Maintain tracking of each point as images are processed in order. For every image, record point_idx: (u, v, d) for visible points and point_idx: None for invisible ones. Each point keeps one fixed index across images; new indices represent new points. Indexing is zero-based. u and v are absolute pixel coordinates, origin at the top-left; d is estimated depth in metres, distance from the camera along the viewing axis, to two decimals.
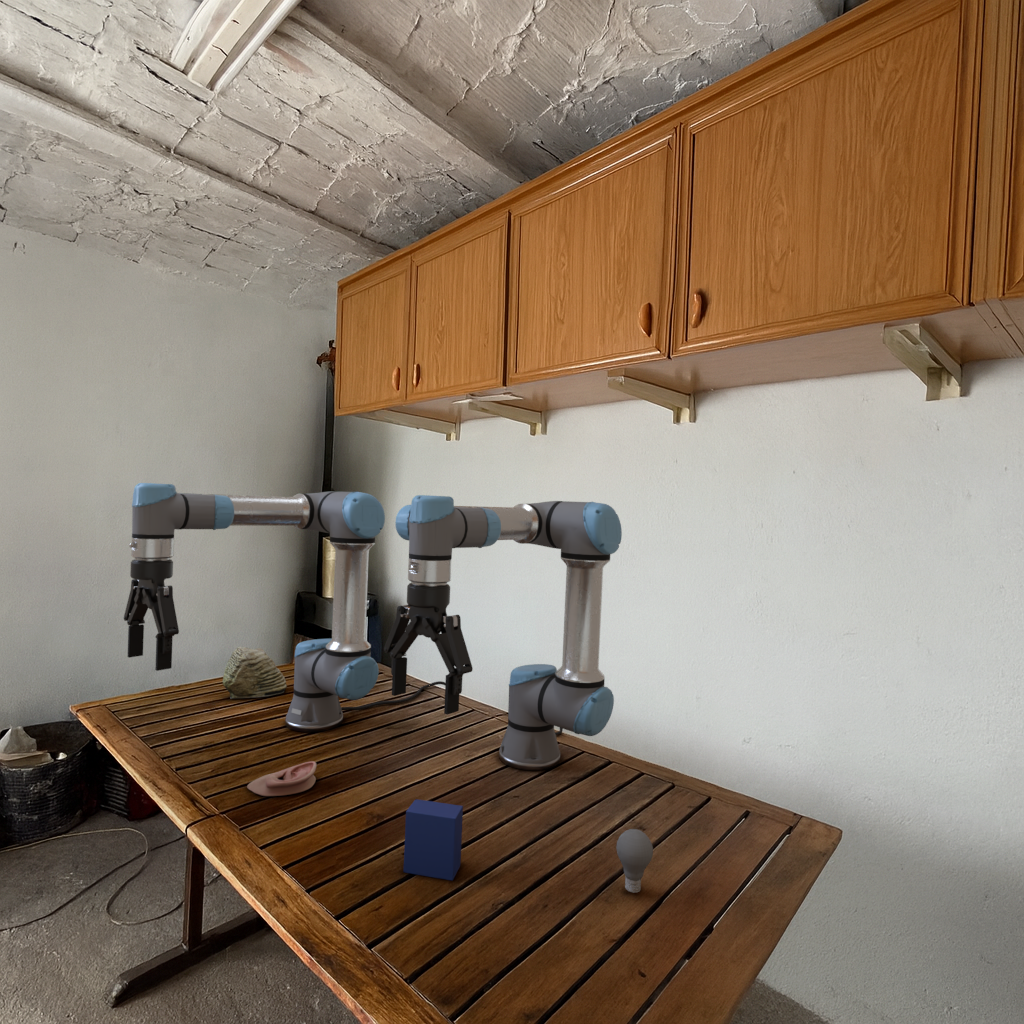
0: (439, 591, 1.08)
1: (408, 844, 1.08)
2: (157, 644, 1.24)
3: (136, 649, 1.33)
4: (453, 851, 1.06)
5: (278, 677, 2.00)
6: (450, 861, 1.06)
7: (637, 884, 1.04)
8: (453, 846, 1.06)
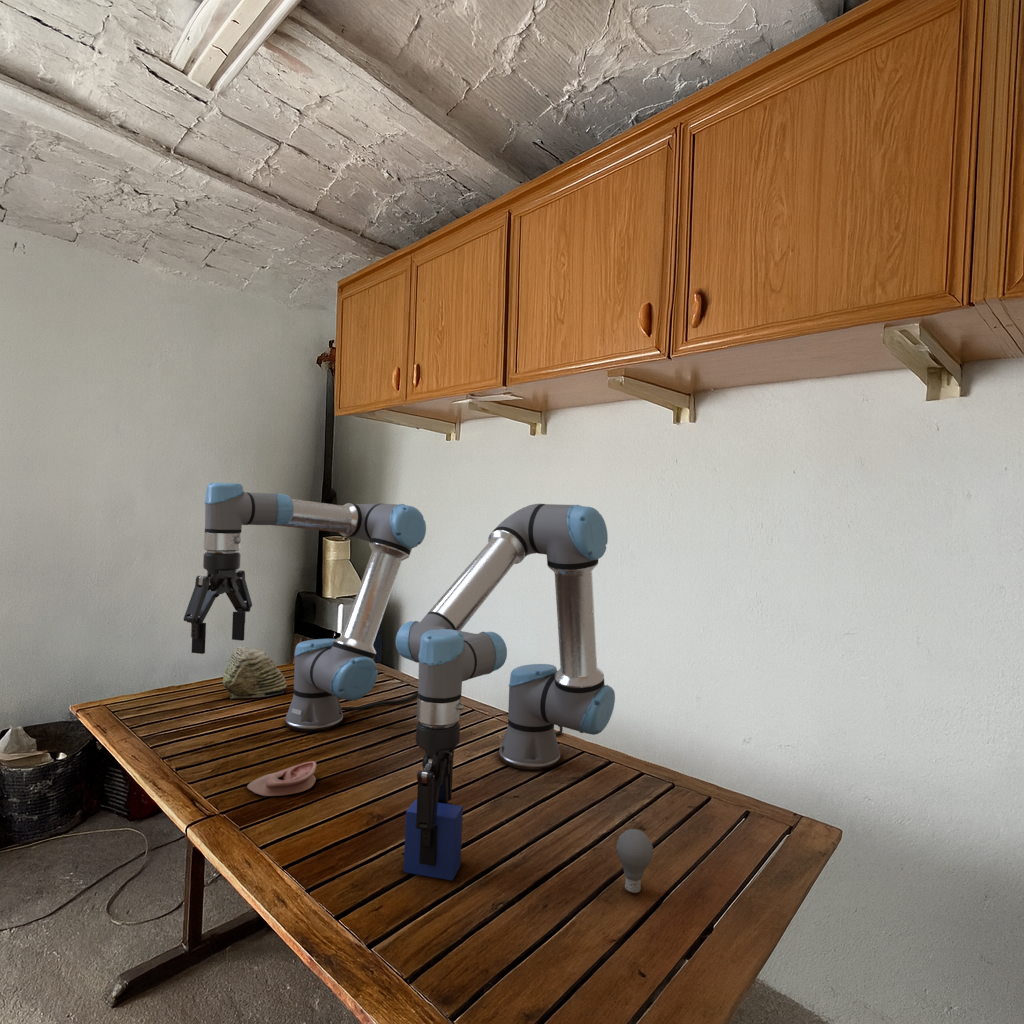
0: None
1: (408, 844, 1.08)
2: (244, 618, 1.49)
3: None
4: (453, 851, 1.06)
5: (278, 677, 2.00)
6: (450, 861, 1.06)
7: (637, 884, 1.04)
8: (453, 846, 1.06)
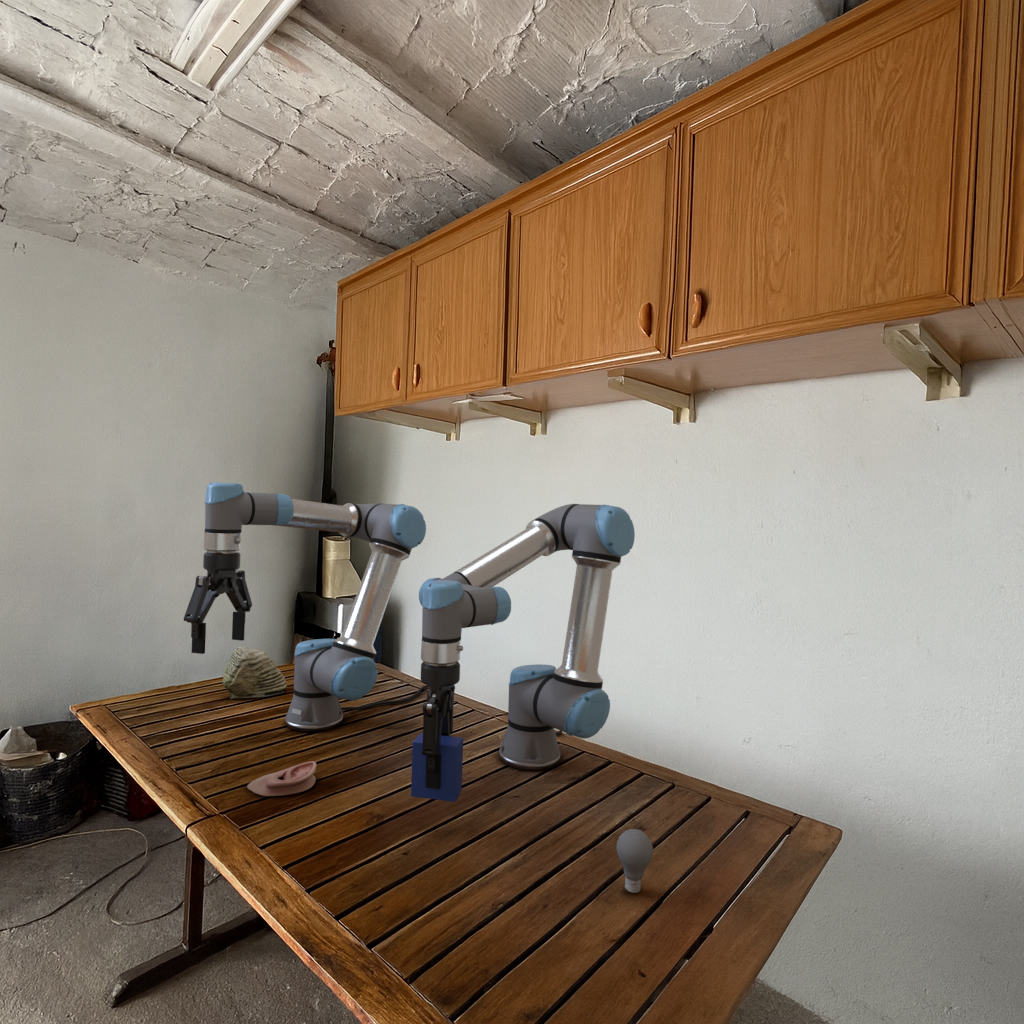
0: None
1: (415, 771, 1.21)
2: (244, 618, 1.49)
3: None
4: (455, 776, 1.19)
5: (278, 677, 2.00)
6: (452, 784, 1.19)
7: (637, 884, 1.04)
8: (455, 771, 1.19)
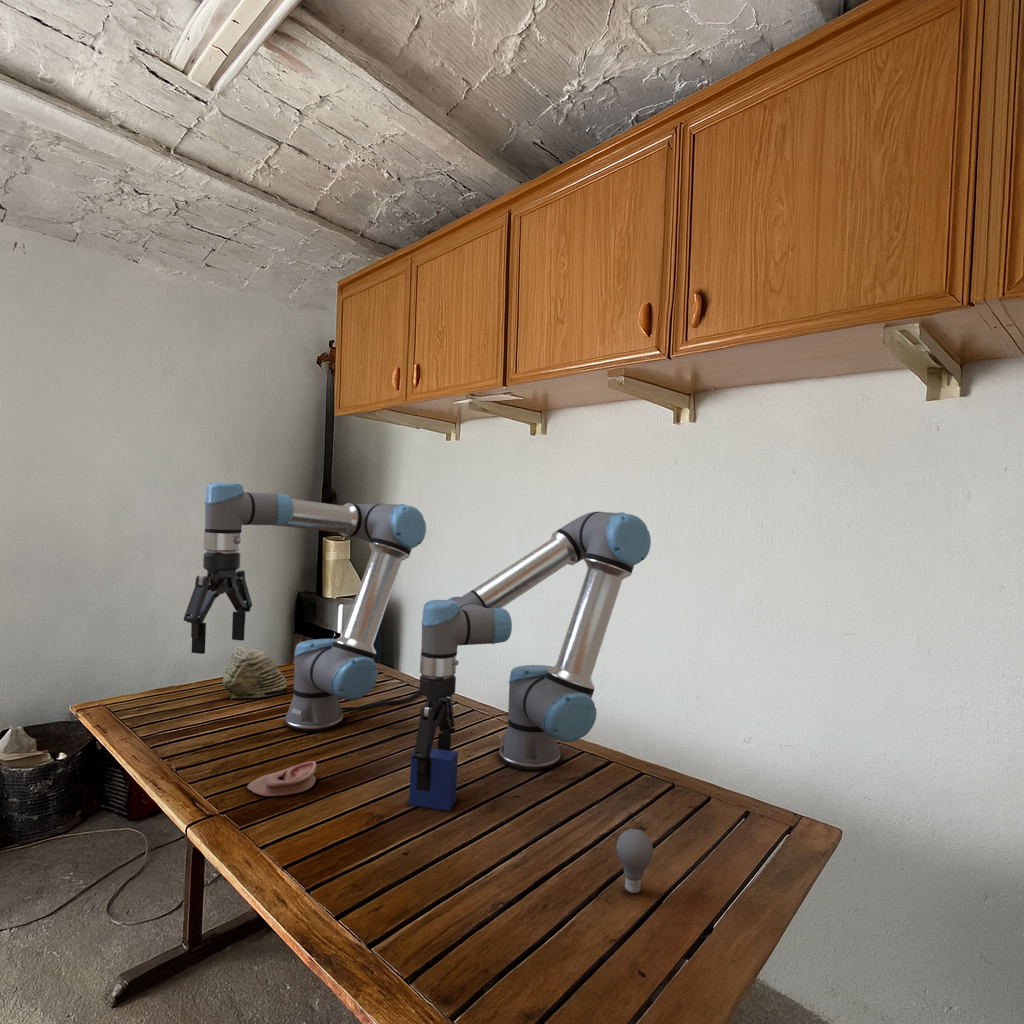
0: None
1: (413, 782, 1.32)
2: (244, 618, 1.49)
3: None
4: (450, 787, 1.30)
5: (278, 677, 2.00)
6: (447, 794, 1.30)
7: (637, 884, 1.04)
8: (450, 782, 1.30)
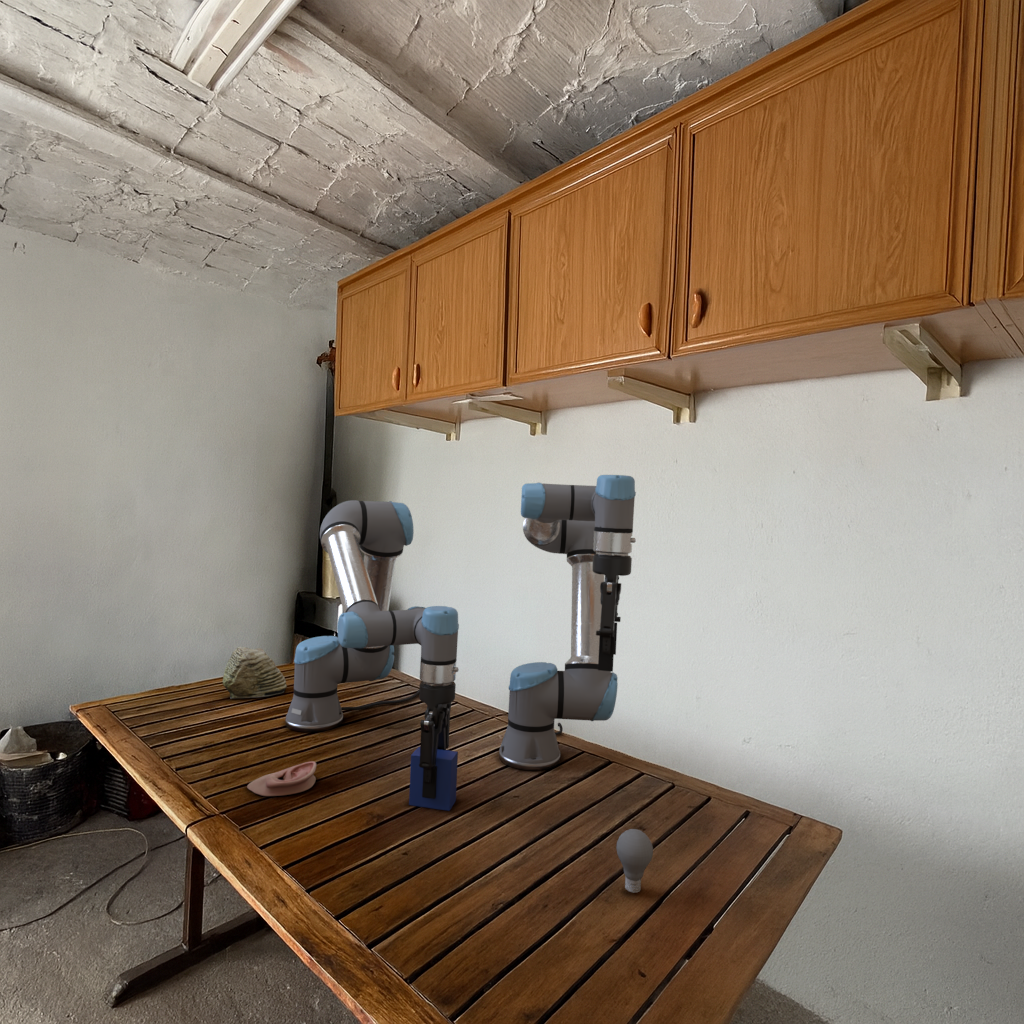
0: None
1: (413, 782, 1.32)
2: None
3: None
4: (450, 787, 1.30)
5: (278, 677, 2.00)
6: (447, 794, 1.30)
7: (637, 884, 1.04)
8: (449, 782, 1.30)
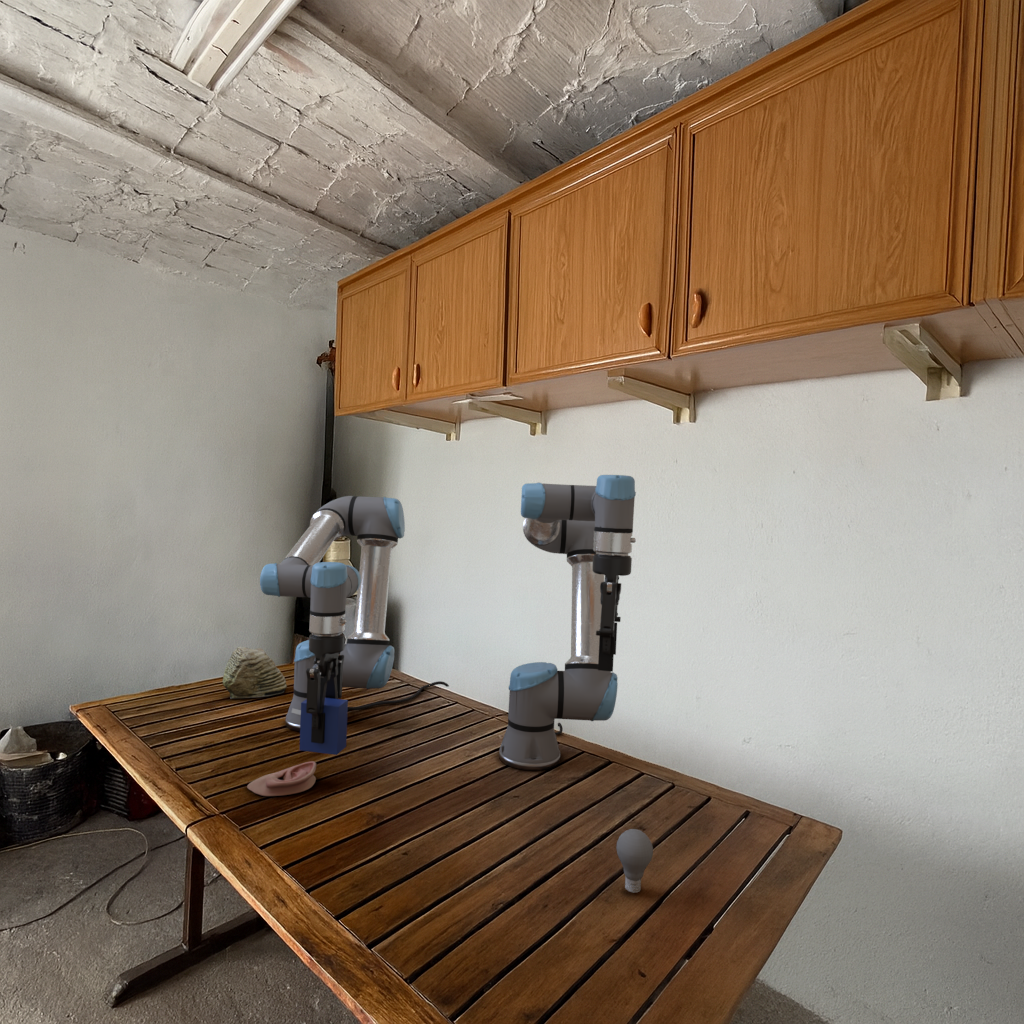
0: None
1: (303, 728, 1.38)
2: None
3: None
4: (337, 732, 1.37)
5: (278, 677, 2.00)
6: (334, 739, 1.37)
7: (637, 884, 1.04)
8: (337, 728, 1.37)
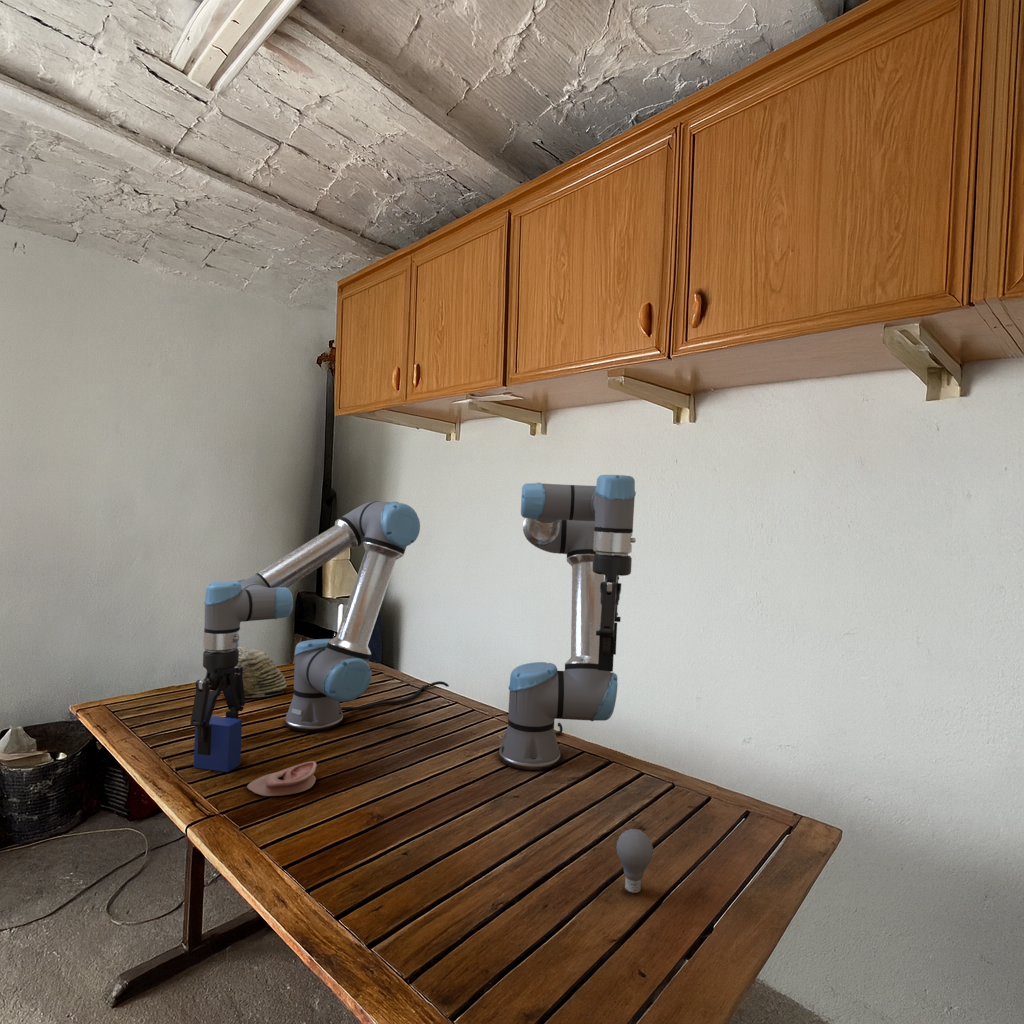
0: None
1: (196, 746, 1.45)
2: (237, 717, 1.51)
3: None
4: (228, 750, 1.43)
5: (278, 677, 2.00)
6: (225, 757, 1.43)
7: (637, 884, 1.04)
8: (228, 746, 1.43)
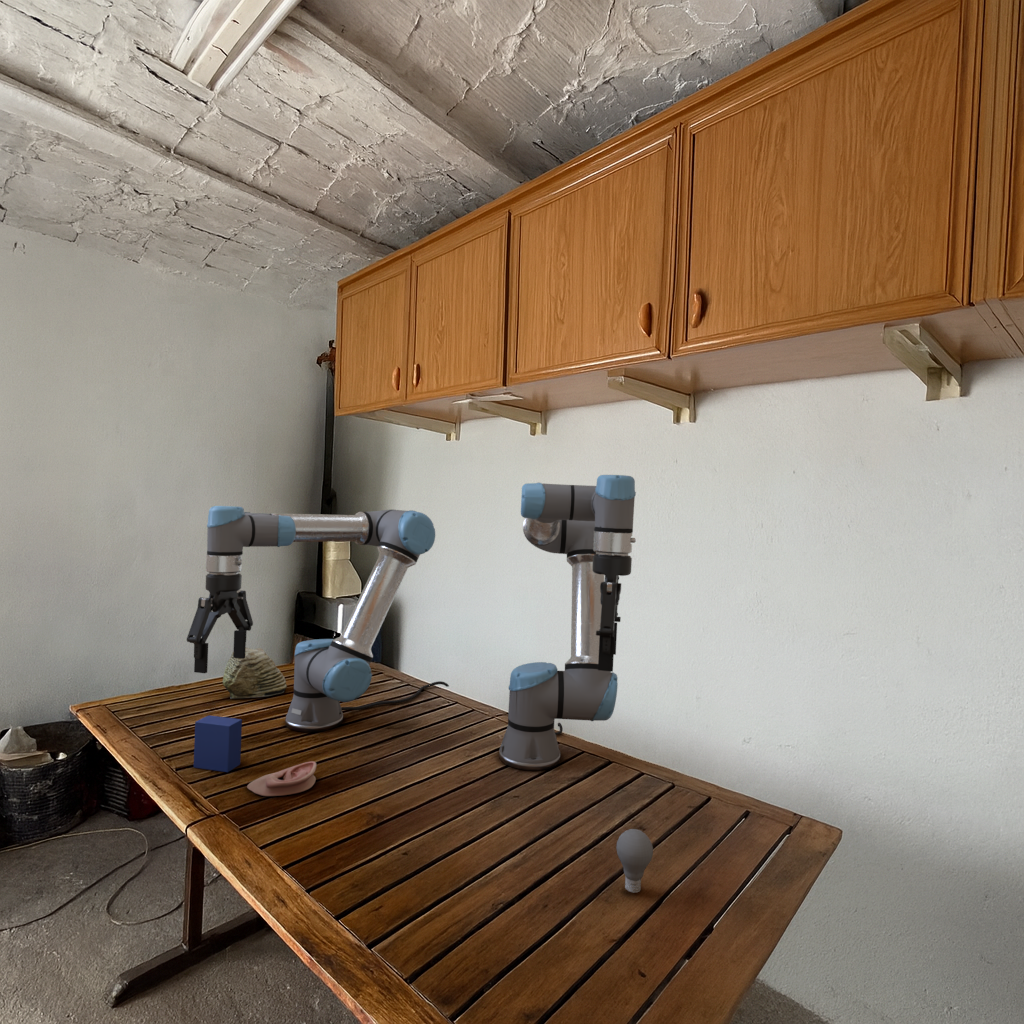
0: None
1: (196, 746, 1.45)
2: (245, 636, 1.53)
3: None
4: (228, 750, 1.43)
5: (278, 677, 2.00)
6: (225, 757, 1.43)
7: (637, 884, 1.04)
8: (228, 746, 1.43)
